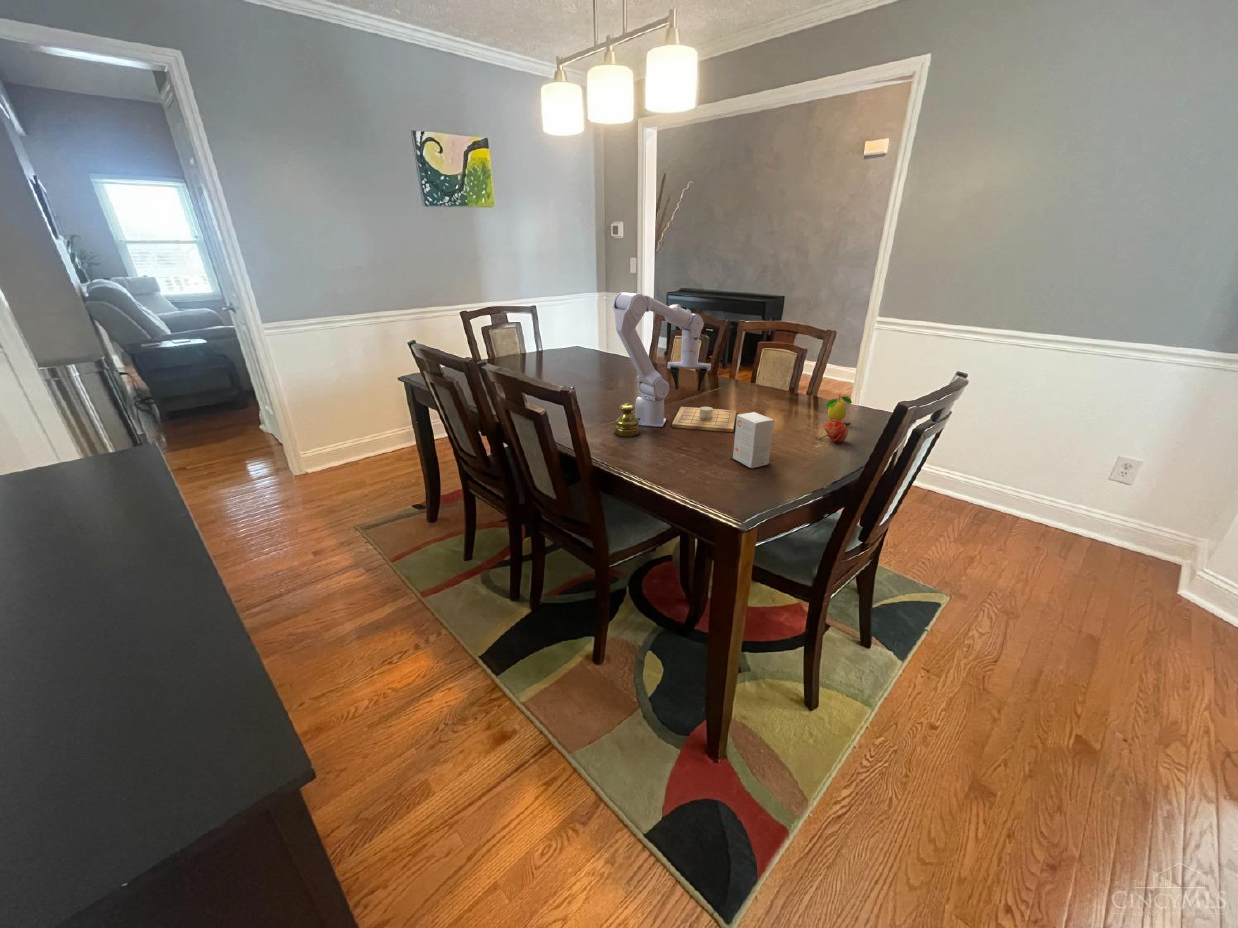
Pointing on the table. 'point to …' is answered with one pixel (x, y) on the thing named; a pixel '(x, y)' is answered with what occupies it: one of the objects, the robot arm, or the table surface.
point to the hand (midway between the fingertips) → (687, 389)
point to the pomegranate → (836, 430)
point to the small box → (753, 439)
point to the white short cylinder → (705, 412)
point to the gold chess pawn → (627, 421)
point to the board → (705, 420)
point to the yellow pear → (837, 408)
